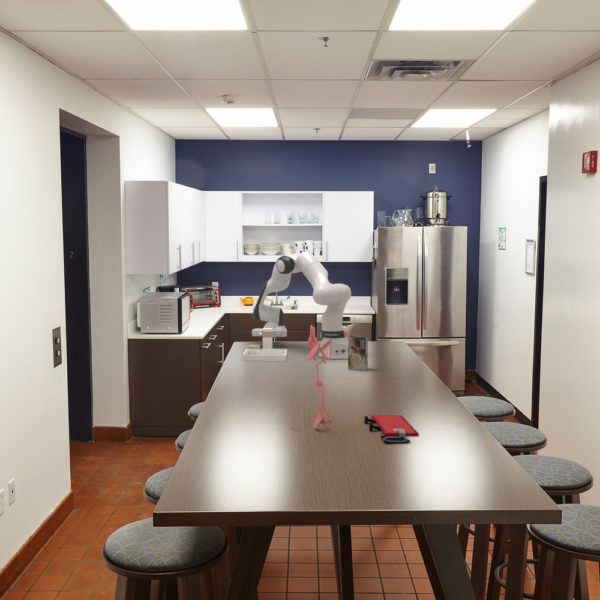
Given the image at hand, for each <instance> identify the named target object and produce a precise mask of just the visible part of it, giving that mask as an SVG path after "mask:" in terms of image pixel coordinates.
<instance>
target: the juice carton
mask: <svg viewBox="0 0 600 600" xmlns="http://www.w3.org/2000/svg"><path fill="white" fill-rule="evenodd" d="M272 336H273V331H272V328H264V327H263V336H262V349H273V338H272Z"/></svg>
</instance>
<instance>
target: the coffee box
mask: <svg viewBox="0 0 600 600" xmlns="http://www.w3.org/2000/svg"><path fill="white" fill-rule="evenodd" d="M347 339H348V359H347V370H355V369H356V370H355V371H357V370H358V371H359V370H360V371H366V370H368V369H369V365H368V363H369V362H368V361H369V358H368V357H369V355H368V354H369V340H368V339H369V336H368V335H353V334H352V335H351V334H350V335H349V336H348V337H347Z"/></svg>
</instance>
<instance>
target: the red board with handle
mask: <svg viewBox="0 0 600 600" xmlns="http://www.w3.org/2000/svg"><path fill="white" fill-rule="evenodd" d="M370 416H371V418H369V417H368V415H365V416H364V419H363V420H364V421H363V423H364V424H365V425H368V424H369V425H368V429H369V430H368V431H369V432H374V430H378V431H380V432H381V433H382V435H380V438H381V439H382V440H383V442H385V443H388V442H389V443H403V442H404V443H406V442H407V443H411V440H410V439H409V438H408V437H419V432H418V431H417V430H416V429H415V428H414V427H413V426H412V425H411V423H410V422H409V421H408V420H407V419H406V418H405V417H404V416H403V415H398V414H397V415H392V414H391V415H389V414H388V415H383V414H382V415H379V414H378V415H377V414H376V415H373V414H371V415H370ZM374 424H375V425H374ZM376 424H377V425H376Z"/></svg>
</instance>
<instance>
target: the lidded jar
mask: <svg viewBox="0 0 600 600" xmlns="http://www.w3.org/2000/svg"><path fill="white" fill-rule="evenodd" d="M260 347H261V345H260V344H254V343H253V344H247V349H248V355H259V349H260Z"/></svg>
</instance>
